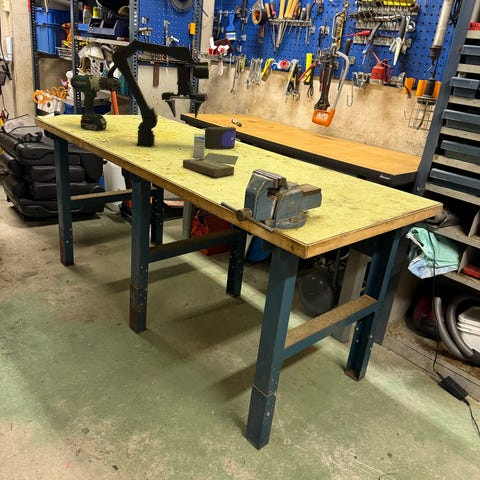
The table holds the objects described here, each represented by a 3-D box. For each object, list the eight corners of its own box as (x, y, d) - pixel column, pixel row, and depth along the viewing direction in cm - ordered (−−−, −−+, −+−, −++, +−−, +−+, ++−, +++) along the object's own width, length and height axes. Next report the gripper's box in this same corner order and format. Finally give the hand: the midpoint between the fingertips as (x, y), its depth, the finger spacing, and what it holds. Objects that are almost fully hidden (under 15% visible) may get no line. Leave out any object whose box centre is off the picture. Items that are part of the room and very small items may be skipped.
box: (213, 178, 149) (214, 169, 148) (181, 167, 160) (182, 159, 158) (234, 175, 157) (235, 166, 155) (203, 165, 167) (203, 157, 166)
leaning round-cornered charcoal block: (208, 150, 190) (209, 128, 186) (203, 147, 194) (204, 126, 190) (238, 149, 199) (240, 128, 195) (233, 146, 202) (235, 126, 199)
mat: (202, 160, 172) (202, 159, 172) (208, 153, 184) (208, 152, 184) (234, 164, 171) (234, 163, 171) (238, 157, 184) (238, 156, 184)
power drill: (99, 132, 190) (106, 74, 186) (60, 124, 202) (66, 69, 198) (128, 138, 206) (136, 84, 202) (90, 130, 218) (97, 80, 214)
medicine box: (193, 153, 182) (194, 132, 178) (203, 154, 182) (205, 133, 179) (192, 157, 174) (194, 136, 171) (203, 158, 175) (205, 137, 171)
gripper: (210, 78, 184) (210, 116, 190) (168, 77, 186) (169, 114, 193) (204, 80, 174) (205, 119, 180) (160, 78, 176) (162, 117, 182)
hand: (185, 117), depth 184 cm, fingers open, 9 cm apart
